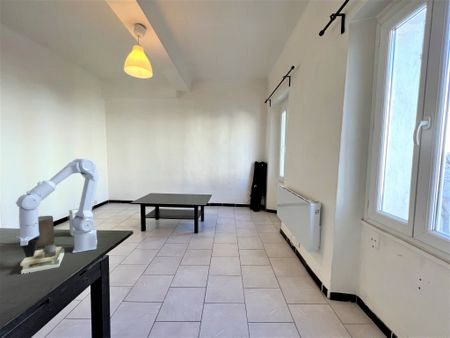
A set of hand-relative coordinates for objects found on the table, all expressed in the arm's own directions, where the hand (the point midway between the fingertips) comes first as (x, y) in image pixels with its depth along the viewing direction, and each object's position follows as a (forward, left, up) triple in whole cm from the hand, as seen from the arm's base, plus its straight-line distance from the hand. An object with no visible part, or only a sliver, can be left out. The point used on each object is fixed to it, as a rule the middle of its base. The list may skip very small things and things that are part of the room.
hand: (30, 256), depth 88 cm
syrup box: (-13, -35, -4) cm, 37 cm away
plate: (-4, 0, -1) cm, 4 cm away
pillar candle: (+1, -26, -4) cm, 26 cm away
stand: (-5, 0, -4) cm, 6 cm away
